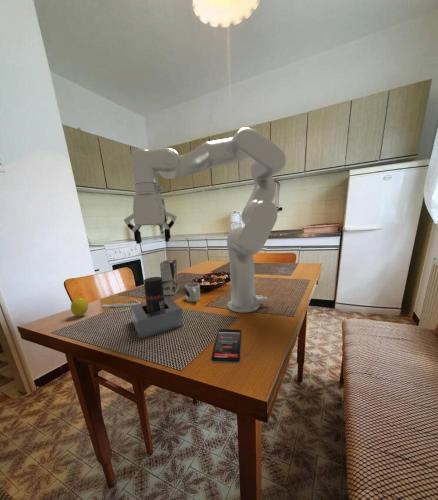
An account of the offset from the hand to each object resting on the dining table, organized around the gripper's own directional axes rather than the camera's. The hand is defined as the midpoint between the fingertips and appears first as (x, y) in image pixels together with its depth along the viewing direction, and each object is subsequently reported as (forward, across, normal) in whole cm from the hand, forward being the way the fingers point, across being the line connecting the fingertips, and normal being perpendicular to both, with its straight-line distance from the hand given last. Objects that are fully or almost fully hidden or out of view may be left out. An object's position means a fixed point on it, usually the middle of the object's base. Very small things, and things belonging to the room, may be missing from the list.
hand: (153, 242), depth 69 cm
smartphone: (+29, -22, +17) cm, 41 cm away
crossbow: (+29, +22, -16) cm, 40 cm away
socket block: (+28, +1, +2) cm, 29 cm away
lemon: (+28, +34, -9) cm, 45 cm away
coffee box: (+29, +3, -31) cm, 43 cm away
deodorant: (+28, +1, +2) cm, 28 cm away
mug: (+29, -10, -18) cm, 36 cm away
